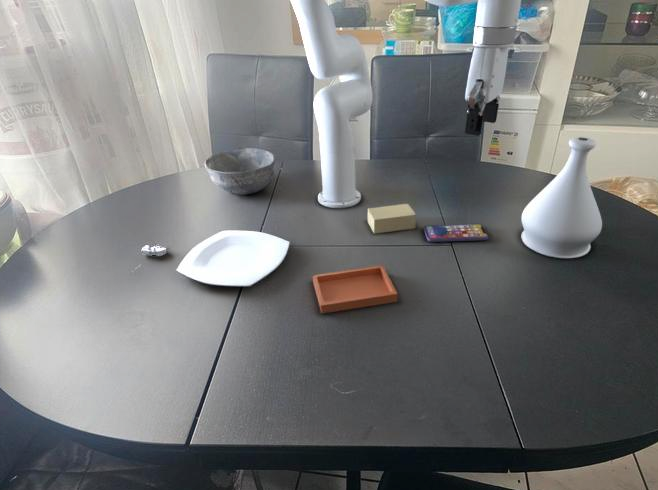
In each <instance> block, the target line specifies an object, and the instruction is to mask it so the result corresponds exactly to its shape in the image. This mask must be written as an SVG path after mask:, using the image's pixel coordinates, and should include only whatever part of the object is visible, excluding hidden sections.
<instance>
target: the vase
mask: <svg viewBox="0 0 658 490" xmlns="http://www.w3.org/2000/svg"><path fill="white" fill-rule="evenodd" d="M596 144H597V142H596V141H595V140H594V139H593V138H590V137H586V136H574V137H571V138H570V139H569V141H568V147H569V148H570V149H571V150H570V154H569V157H568V159H567V162H566V163H565V165H564V166H563V168H562V169H561V170H560V171H559V173H558V174H557V175H556V176H555V177H554V178H553V179H552V180H551V181H550V182H549V183H548V184H547V185H546V186H545V187H544V188H543V189H542V190H541V191H540V192H539V193H538V194H536V196H535V197H533V199H531V200H530V201H529V202H528V204H527V205H526V206H525V207H524V209H523V210H522V213H521V218H520V219H521V225H522V227H523V231H522V232H521V235H520V239H521V241H522V242H523V244H524V245H525V246H526V247H528V248H529V249H531V250H532V251H534V252H536V253H539V254H541V255H544V256H547V257H551V258H552V257H553V258H559V259H574V258H581V257H583V256H585V255H587V254H588V253H589V252H590V250H591V248H592V247H591V243H592V242H593V241H594V240H596V238H597V237H598V236H599V235H600V234H601V232H602V228H603V220H602V216H601V212H600V209H599V206H598V203H597V201H596V198H595V195H594V192H593V190H592V187H591V184H590V181H589V177H588V173H587V160H588V155H589V152H590V151H592V150H593V149H595V148H596Z"/></svg>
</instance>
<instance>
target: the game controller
mask: <svg viewBox="0 0 658 490" xmlns="http://www.w3.org/2000/svg"><path fill="white" fill-rule="evenodd" d="M157 245H158V244H157V243H155V244H154V246H152V247H151V245H149V244H148V245H145V246H143V247H142V248H141V254H142V255H144V256H147V258H149V257H153V256H152V255H146V254H143V253H142V251H143V252H145V253H149V254H160V253H162V252H163V251H165V250H166V251H165V252H164V253H162V254H161V255H156V256H155V257H161V256H163V255H166V254H167V253H168V252H167V248H166V247H164V246H163V245H162V247H161V246H157ZM160 247H161V248H160ZM140 267H141V265H139V266H138V267H136V268H134V270H137V269H139V268H140ZM132 273H133V271H131V272H130V274H132Z"/></svg>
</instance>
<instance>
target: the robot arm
mask: <svg viewBox="0 0 658 490" xmlns="http://www.w3.org/2000/svg"><path fill="white" fill-rule="evenodd" d="M423 2H426V3H428V4H431V5H434V6H437V7H443V8H444V7H445V8H449V7H455V6H461V5H468V4H474V3H477V6H476V16H475V22H474V32H473V37H472V46H473V47H474V49H473V50H472V51H473V52H472V55H471V56H472V57H471V60H470V65H469V70H468V75H467V81H466V88H465V94H464V99H465V101H466V102H468V104H467V110H466V121H465V127H464V128H465V129H464V134H465V135H472V136H478V137H479V136H481V135H482V130H483V124H484V123H491V124H495V123H496V122H497V119H498V112H499V106H500V100H501V96H500V95H501V94H502V92H503V90H504V85H505V84H504V83H505V80H506V73H507V66H508V56H509V50H510V49H509V48H512V47H514V45H515V41H516V34H517V28H518V21H519V16H520V10H521V5H522V0H423ZM290 3H291V5H292V8H293V11H294V13H295V15H296V19H297V21H298V25H299V28H300V34H301V39H302V42H303V45H304V50H305V54H306V59H307V62H308V66H309V69H310V72H311V74H312V75H313V77H314V78H316V79H317V80H319V81H320V80H321V81H327V80H331V79H336V78H339V82H336V83H333V84H329V85H327V86H324V87H323V88H321V89H320V90H319V91H318V92H317V93H316V94H315V95H314V99H313V103H312V104H313V112H314V116H315V121H316V124H317V130H318V140H319V151H320V168H321V169H320V170H321V185H322V190H321V191H320V192H319V194H318V195H317V201H318V203H319V204H320V205H322V206H324V207H327V208H331V209H345V208H350V207H354V206H356V205H357V204H359V203H360V201H361V199H362V194H361V192H360V191H358V190H357V188H356V145H355V144H356V143H355V134H354V132H353V130H352V127H351V125H350V121H351V120H352V119H355V118H357V117H360V116H363V115H364V114H366V113H367V112H369V111H370V109H371V107H372V105H373V100H374V99H373V98H374V97H373V96H374V95H373V88H372V82H371V78H370V72H369V67H368V62H367V57H366V52H365V49H364V47H363V45H362V43H361V41H359V39H358V37H356V36H354V35H352V34H350V33H338V30H337V26H336V23H335V18H334V15H333V12H332V10H331V9H332V8H331V7H330V5H329V3H327V1H326V0H290Z"/></svg>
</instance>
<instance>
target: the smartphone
mask: <svg viewBox="0 0 658 490" xmlns="http://www.w3.org/2000/svg"><path fill="white" fill-rule="evenodd" d="M423 232H424V235H425V238H426V240H427V242H430V243H436V242H437V243H439V242H441V243H442V242H465V241H466V242H468V241H486V240H488V239H489V234H488V233H487V230H486V229H485V227H484V226H483V225H482V224H481V223H463V224H462V223H460V224H459V223H458V224H457V223H456V224H435V225H433V224H432V225H425V226H423Z"/></svg>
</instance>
